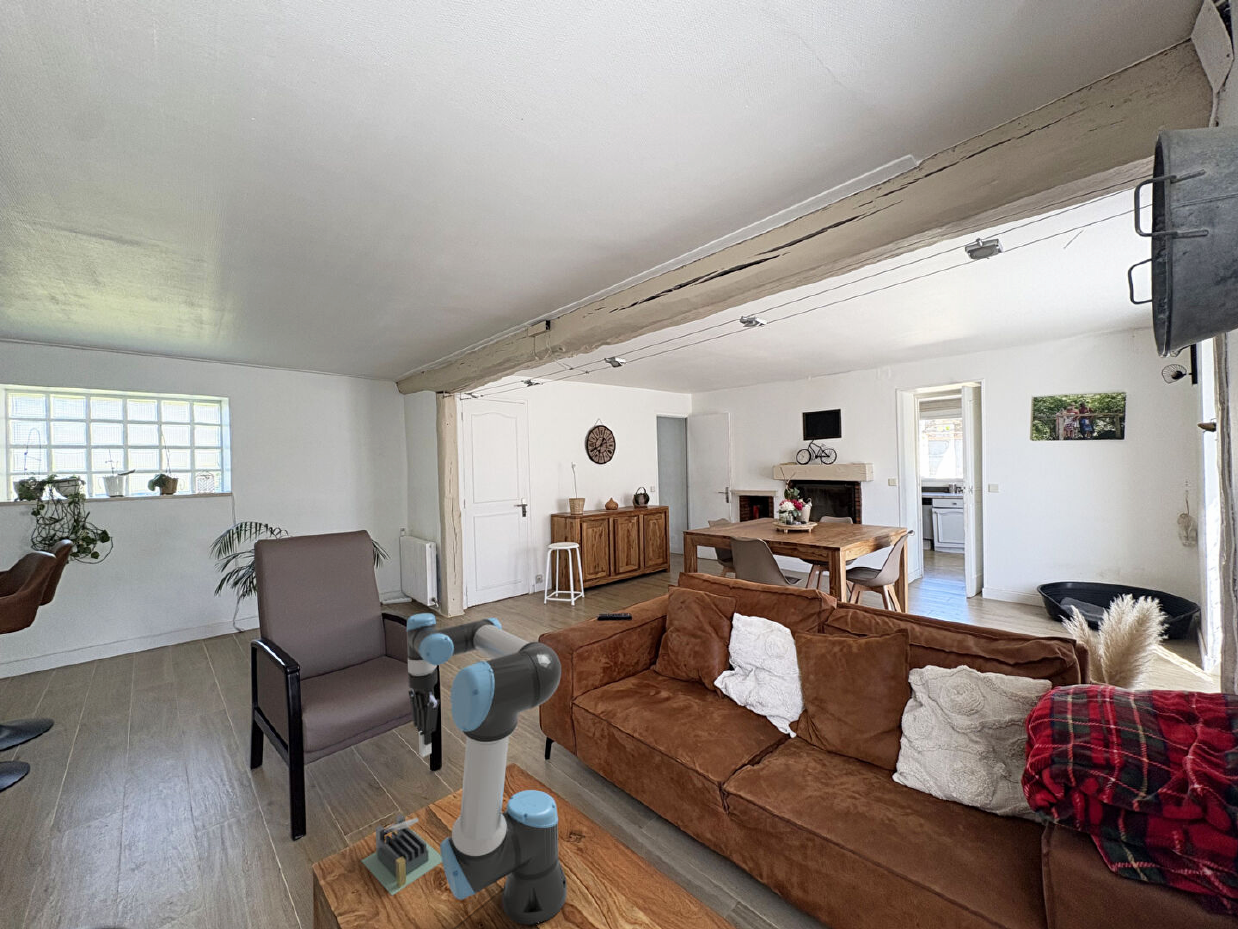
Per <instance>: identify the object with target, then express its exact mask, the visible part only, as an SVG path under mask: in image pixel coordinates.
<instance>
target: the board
mask: <svg viewBox="0 0 1238 929" xmlns="http://www.w3.org/2000/svg"><path fill="white" fill-rule="evenodd" d="M411 830H412V829H411ZM412 831H413V832H414V833H415V834H416V835H417V836H418V837H419V838H420V839H422V840H423V841H424V842H425V843H426V849H428V857H429V861H428V862H426V863H425V864H423V865H422V866H420V867H419V868H417V869H416V870H414V871H413V872H411V873H410V874H408V875H407V876H406V884H405V885H403V886H402V887H400V888H399V887H398V885H397V882H396V878H395V877H394V876H393V875H392V874H391V873H390V871H389V870H388V869H387V868H386V867H385V866H384V865H383V864H382V863H381V862H380V861H379V860H378V855H377V852H376V851H375V852H374V853H372V854H370V855H369V856H367V857H365V858H364V859H361V863H363V865H364V866H365V867H366V868H367V870H369V871H370V873H371V874H372V875H373V876H374V877H375V878H376V880H378V882H379V883H380V884H381V885H382V886H383V887H384V888H385V889H386V891H388V893H389V894H390V895H391V896H394V895H395V894H398V892H400V891H402V890H403V889H404V888H406V887H407V886H409V885H410V884H412V883H413V882H415V881H416V880H418V879H419V878H421V877H423V875H426V874H427V873H428V872H429V871H431V870H432V869H434V868H435V867H437V866H439V865H440V864H441V863H442V858H441V853H439V852H438V851H437V850H435V849H434V848H433V847H432V846H431V845H430V844H429V843H428V842H427V841H425V839H423V838H422V837H421V836H420V835H419V834H418V833H416V832H415V831H414V830H412Z"/></svg>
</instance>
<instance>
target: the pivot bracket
mask: <svg viewBox="0 0 1238 929" xmlns="http://www.w3.org/2000/svg"><path fill="white" fill-rule="evenodd" d="M404 821H406V816H404V815H403V814H402V813H399V814H397V815H396V822H397V823H401V822H404ZM384 829H385V828H384V827H383V826H382V825H378V826H376V827H375V846H376V847H375V848H376V851H375V852H377V855H378V848H380V844H379V840H381V839H383V840H384V841H385V842H386V837H385V836H386V835H385V832H384ZM401 830H402V831H403V832H404V829H401ZM396 834H397V833H396ZM397 835H398V834H397Z"/></svg>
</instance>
